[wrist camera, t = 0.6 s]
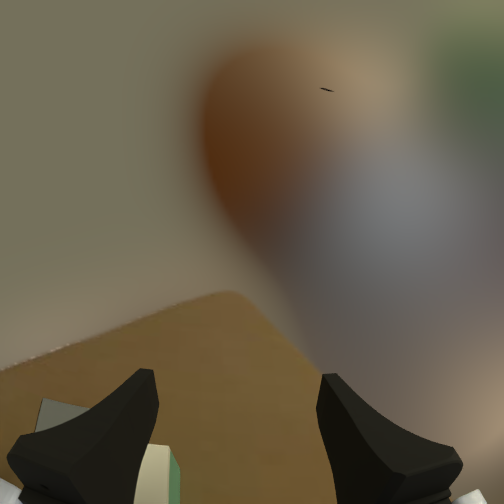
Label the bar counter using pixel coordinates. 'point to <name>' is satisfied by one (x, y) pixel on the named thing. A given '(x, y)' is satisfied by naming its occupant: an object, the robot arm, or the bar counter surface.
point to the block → (158, 477)
